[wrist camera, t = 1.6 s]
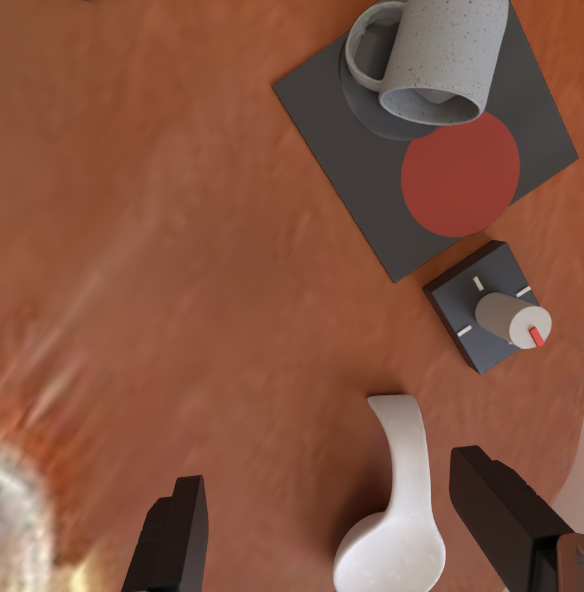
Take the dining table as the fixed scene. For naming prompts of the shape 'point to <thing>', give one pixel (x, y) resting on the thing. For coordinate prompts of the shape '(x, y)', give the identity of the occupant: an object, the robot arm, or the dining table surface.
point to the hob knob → (513, 320)
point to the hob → (425, 146)
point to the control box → (466, 295)
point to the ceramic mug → (435, 58)
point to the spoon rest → (396, 515)
